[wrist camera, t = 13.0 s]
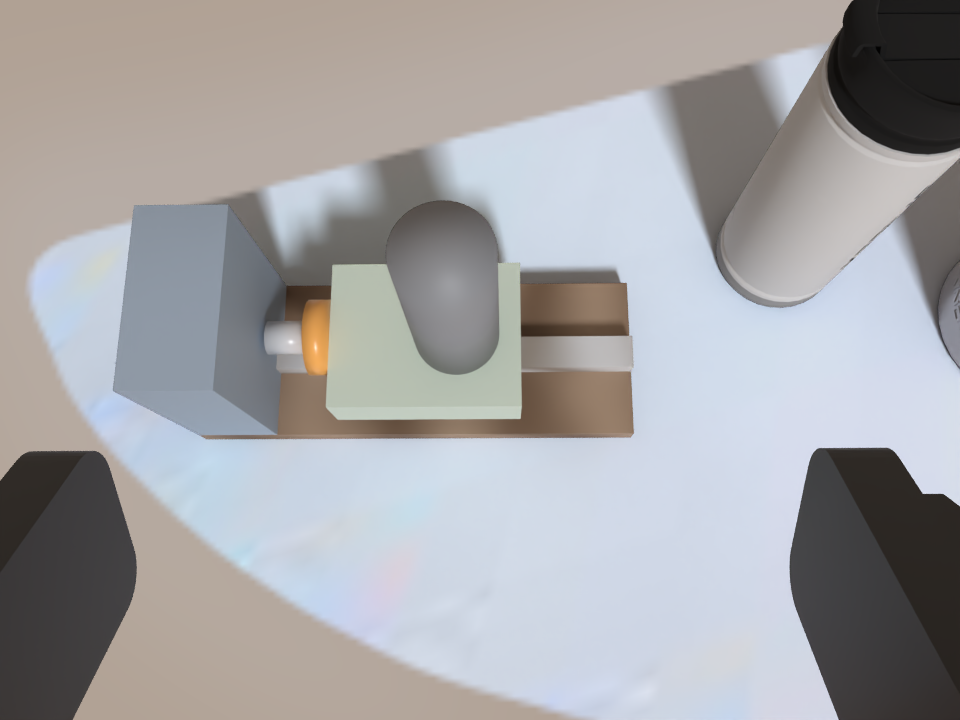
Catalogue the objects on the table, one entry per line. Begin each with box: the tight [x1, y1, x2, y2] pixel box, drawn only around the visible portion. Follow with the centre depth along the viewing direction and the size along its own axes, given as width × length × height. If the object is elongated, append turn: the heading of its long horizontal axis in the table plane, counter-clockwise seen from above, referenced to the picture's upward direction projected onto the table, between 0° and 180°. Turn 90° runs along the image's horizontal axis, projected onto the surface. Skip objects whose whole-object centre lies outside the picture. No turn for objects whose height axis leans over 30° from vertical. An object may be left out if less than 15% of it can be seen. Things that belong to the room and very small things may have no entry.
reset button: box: [264, 300, 331, 375], centre depth 41 cm, size 3×4×4 cm
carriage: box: [326, 201, 522, 420], centre depth 37 cm, size 9×7×13 cm
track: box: [200, 283, 634, 439], centre depth 45 cm, size 22×8×2 cm, turn 90°
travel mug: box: [716, 0, 960, 308], centre depth 37 cm, size 6×7×20 cm
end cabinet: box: [113, 204, 287, 435], centre depth 40 cm, size 4×8×10 cm, turn 0°
